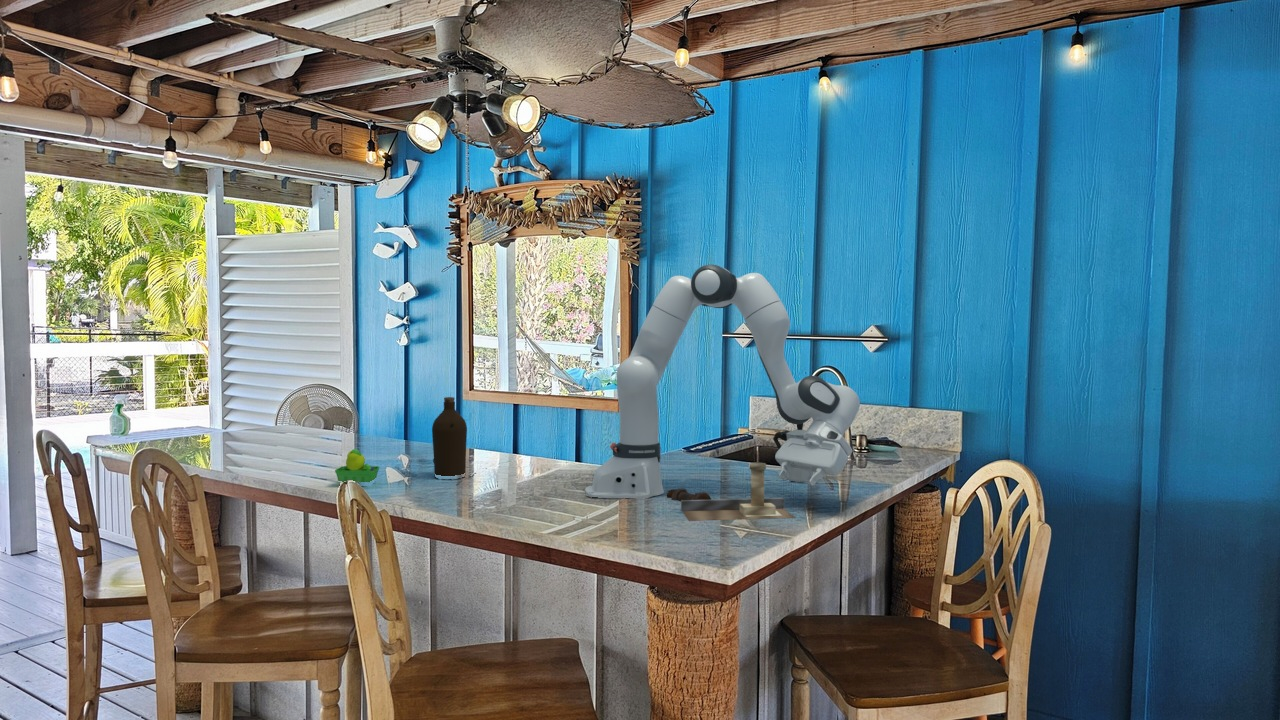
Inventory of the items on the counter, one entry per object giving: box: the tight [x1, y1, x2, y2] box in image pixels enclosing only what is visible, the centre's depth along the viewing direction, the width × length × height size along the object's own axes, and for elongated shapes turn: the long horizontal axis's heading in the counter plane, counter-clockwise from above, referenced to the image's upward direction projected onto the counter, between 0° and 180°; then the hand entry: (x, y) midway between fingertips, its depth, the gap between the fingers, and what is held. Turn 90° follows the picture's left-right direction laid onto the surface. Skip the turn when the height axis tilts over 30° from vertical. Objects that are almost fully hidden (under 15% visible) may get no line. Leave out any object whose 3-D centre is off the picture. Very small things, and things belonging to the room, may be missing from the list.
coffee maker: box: [772, 423, 814, 482], centre depth 255 cm, size 15×9×18 cm, turn 59°
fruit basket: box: [334, 448, 380, 483], centre depth 246 cm, size 11×9×11 cm
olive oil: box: [431, 396, 468, 476], centre depth 259 cm, size 11×11×25 cm
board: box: [680, 497, 796, 522], centre depth 204 cm, size 26×12×4 cm, turn 97°
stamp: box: [739, 462, 776, 516], centre depth 204 cm, size 8×4×12 cm, turn 98°
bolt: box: [666, 487, 712, 502], centre depth 218 cm, size 6×5×15 cm
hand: (795, 481), depth 212 cm, fingers open, 8 cm apart
